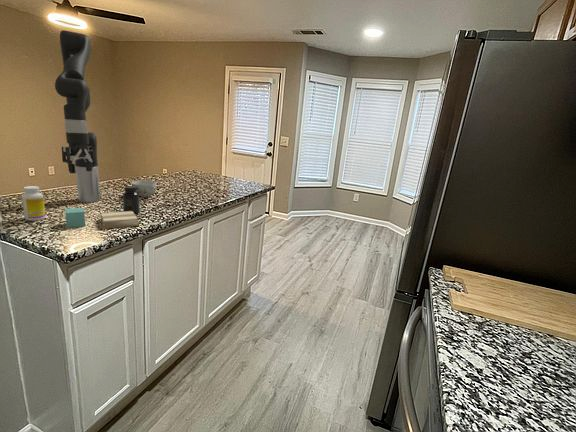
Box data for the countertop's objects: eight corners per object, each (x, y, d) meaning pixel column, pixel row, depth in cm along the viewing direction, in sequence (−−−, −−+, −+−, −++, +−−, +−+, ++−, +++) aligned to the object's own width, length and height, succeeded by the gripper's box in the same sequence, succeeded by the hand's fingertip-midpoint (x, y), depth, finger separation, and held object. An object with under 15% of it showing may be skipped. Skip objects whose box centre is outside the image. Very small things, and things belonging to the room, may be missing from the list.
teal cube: (66, 223, 123) (65, 208, 121) (84, 222, 126) (83, 207, 125) (66, 228, 118) (65, 213, 117) (85, 226, 122) (84, 211, 120)
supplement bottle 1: (50, 218, 126) (46, 187, 123) (32, 222, 120) (28, 189, 117) (38, 215, 128) (34, 184, 125) (20, 219, 122) (15, 187, 118)
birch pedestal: (101, 219, 131) (100, 212, 130) (132, 217, 137) (132, 210, 137) (104, 228, 121) (103, 221, 121) (137, 225, 128) (137, 218, 127)
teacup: (127, 195, 171) (126, 181, 169) (146, 192, 182) (146, 179, 180) (145, 200, 165) (144, 186, 163) (164, 197, 175) (164, 183, 173)
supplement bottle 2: (143, 212, 146) (142, 187, 143) (130, 215, 140) (129, 189, 137) (132, 209, 149) (131, 184, 145) (120, 212, 143) (118, 186, 139)
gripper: (82, 131, 132) (86, 170, 136) (52, 130, 118) (58, 173, 122) (98, 132, 131) (101, 171, 135) (70, 131, 117) (75, 174, 121)
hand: (81, 172), depth 128 cm, fingers open, 8 cm apart
